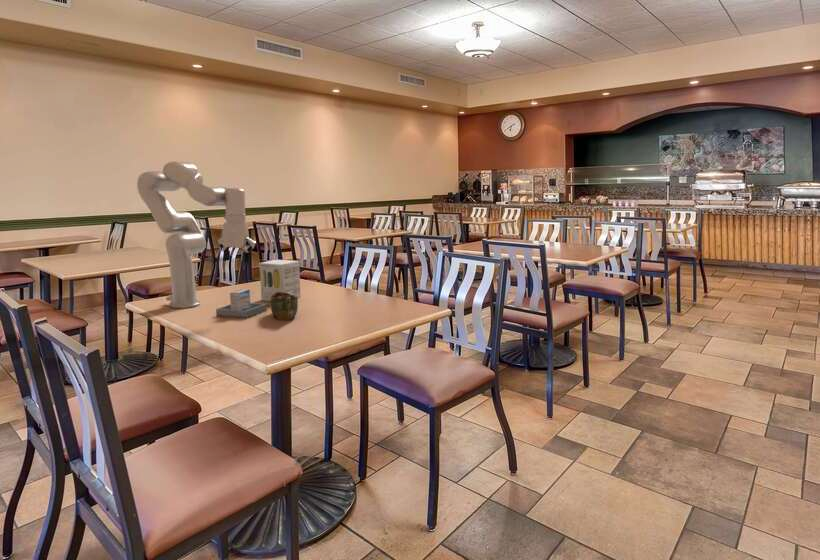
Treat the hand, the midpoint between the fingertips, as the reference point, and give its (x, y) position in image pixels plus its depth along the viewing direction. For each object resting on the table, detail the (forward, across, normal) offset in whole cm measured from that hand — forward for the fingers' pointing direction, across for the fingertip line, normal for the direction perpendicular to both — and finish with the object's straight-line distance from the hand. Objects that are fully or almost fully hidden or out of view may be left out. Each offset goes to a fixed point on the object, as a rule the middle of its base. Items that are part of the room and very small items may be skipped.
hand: (237, 261), depth 214 cm
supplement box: (+22, +3, +28) cm, 36 cm away
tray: (+21, +3, -3) cm, 22 cm away
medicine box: (+21, +3, -3) cm, 21 cm away
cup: (+21, +22, -2) cm, 31 cm away
